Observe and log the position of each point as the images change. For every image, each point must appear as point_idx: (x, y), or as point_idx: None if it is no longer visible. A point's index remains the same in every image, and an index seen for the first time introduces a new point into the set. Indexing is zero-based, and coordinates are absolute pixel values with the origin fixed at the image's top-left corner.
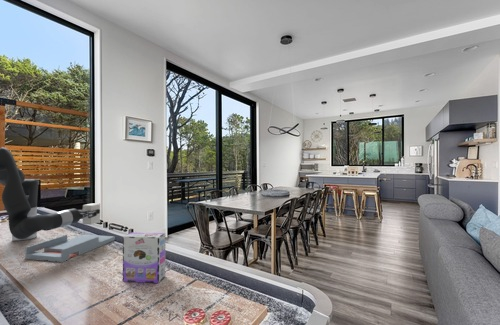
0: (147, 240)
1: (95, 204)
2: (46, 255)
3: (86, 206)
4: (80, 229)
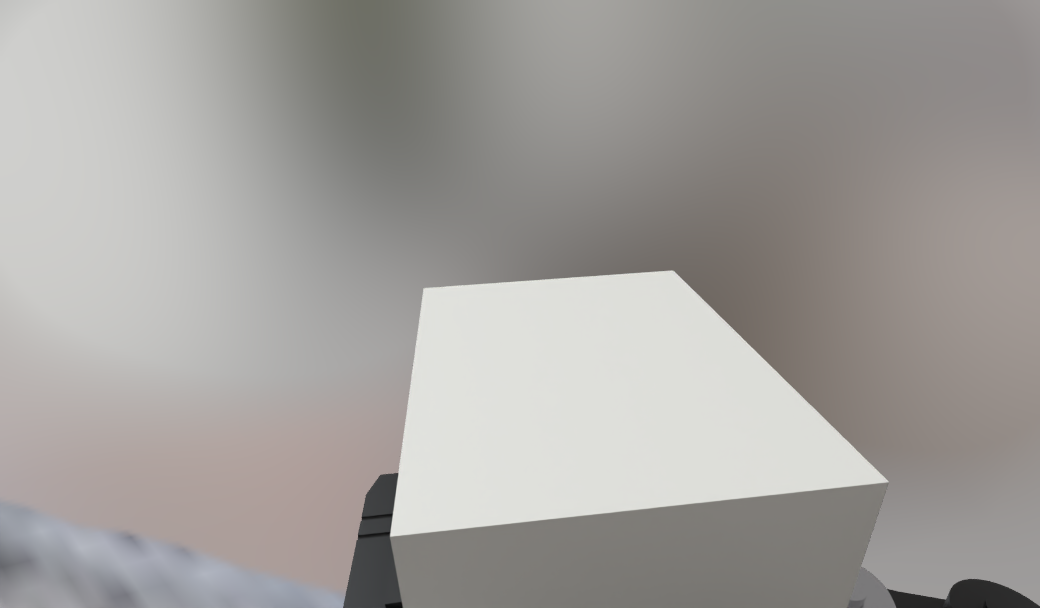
0: None
1: (722, 338)
2: None
3: (622, 558)
4: (64, 531)
